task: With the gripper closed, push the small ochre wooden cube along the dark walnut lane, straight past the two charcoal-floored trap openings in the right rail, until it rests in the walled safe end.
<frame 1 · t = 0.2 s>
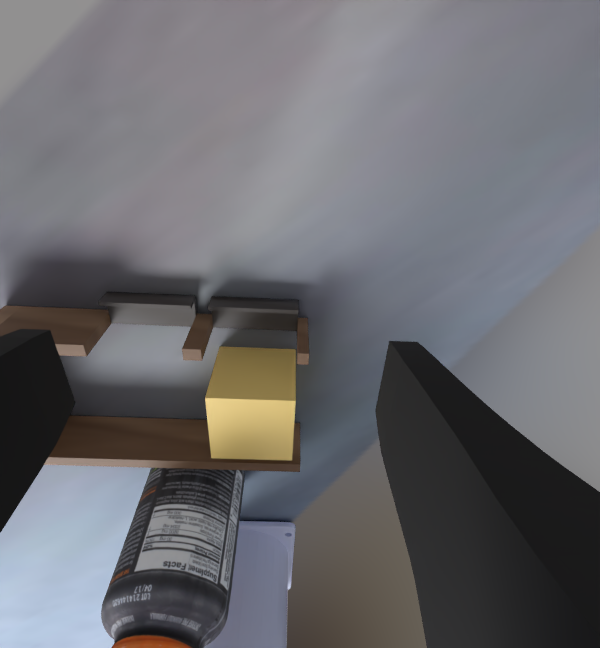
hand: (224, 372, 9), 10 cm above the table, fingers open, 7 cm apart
ochre block: (258, 376, 22), on the table
pill bottle: (201, 465, 26), on the table
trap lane: (168, 374, 22), on the table
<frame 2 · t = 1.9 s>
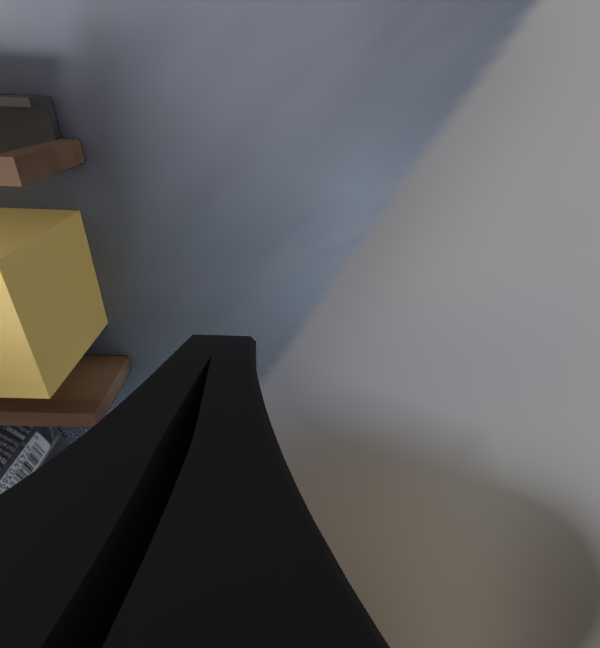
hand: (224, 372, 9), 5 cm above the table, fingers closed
ochre block: (34, 268, 13), on the table
pill bottle: (2, 432, 17), on the table
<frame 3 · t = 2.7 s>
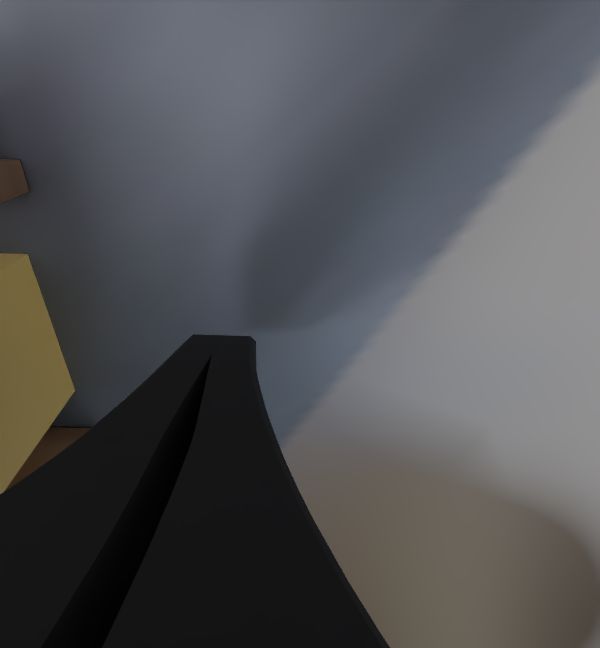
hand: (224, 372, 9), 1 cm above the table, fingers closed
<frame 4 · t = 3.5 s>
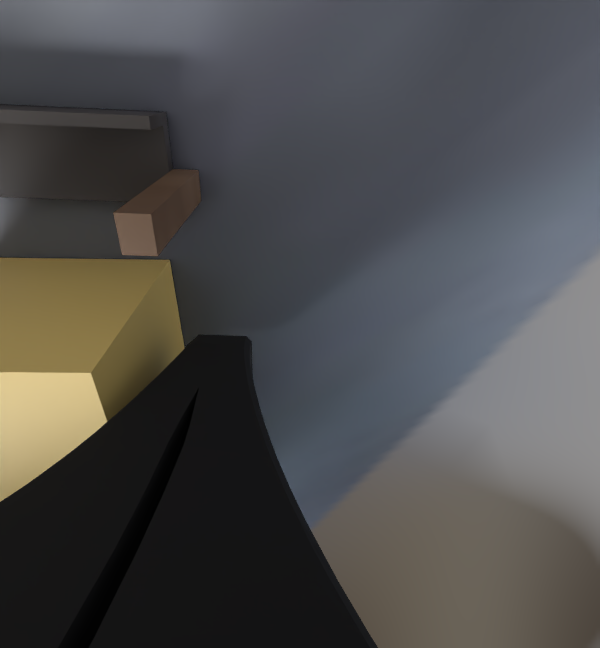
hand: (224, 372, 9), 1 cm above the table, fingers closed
ochre block: (102, 333, 10), on the table, touching gripper
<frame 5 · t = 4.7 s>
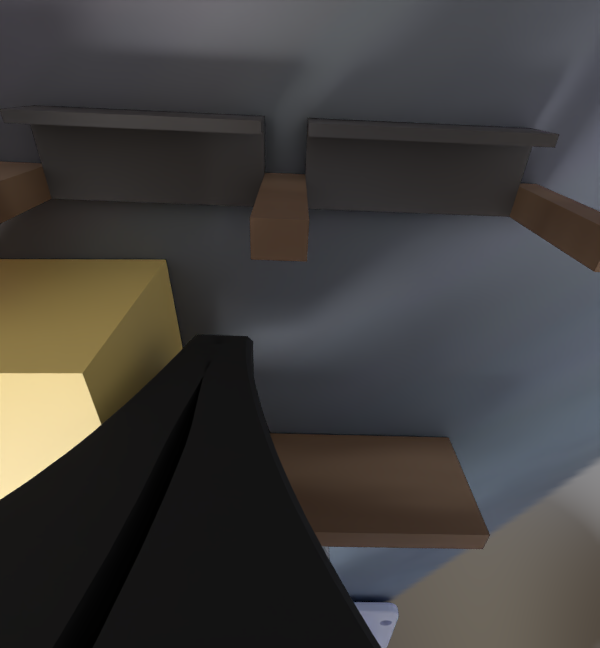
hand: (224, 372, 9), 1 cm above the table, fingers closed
ochre block: (99, 334, 10), on the table, touching gripper
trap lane: (190, 336, 10), on the table
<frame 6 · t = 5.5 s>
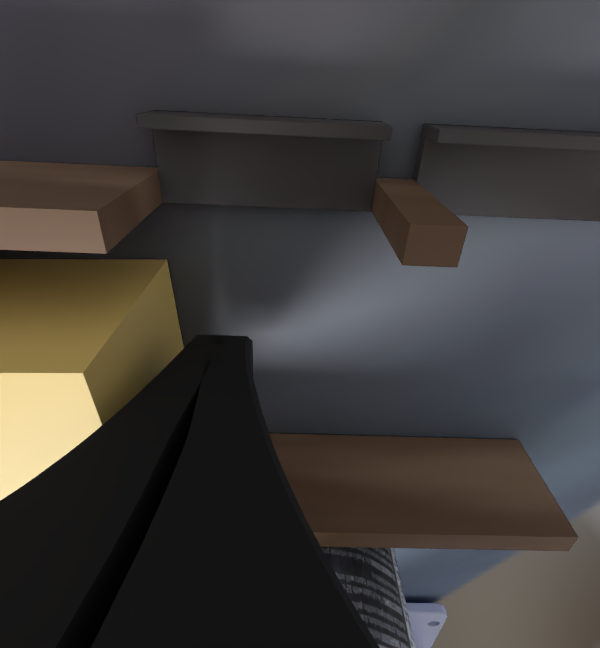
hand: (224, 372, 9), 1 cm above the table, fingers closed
ochre block: (101, 333, 10), on the table, touching gripper
pill bottle: (304, 515, 14), on the table
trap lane: (276, 339, 10), on the table
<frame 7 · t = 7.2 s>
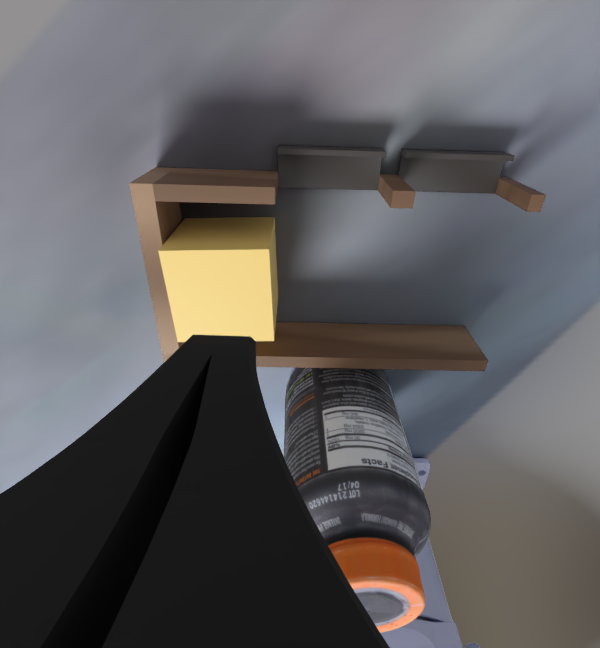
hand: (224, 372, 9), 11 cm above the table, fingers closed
ochre block: (234, 259, 19), on the table
pill bottle: (336, 387, 23), on the table
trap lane: (327, 261, 19), on the table
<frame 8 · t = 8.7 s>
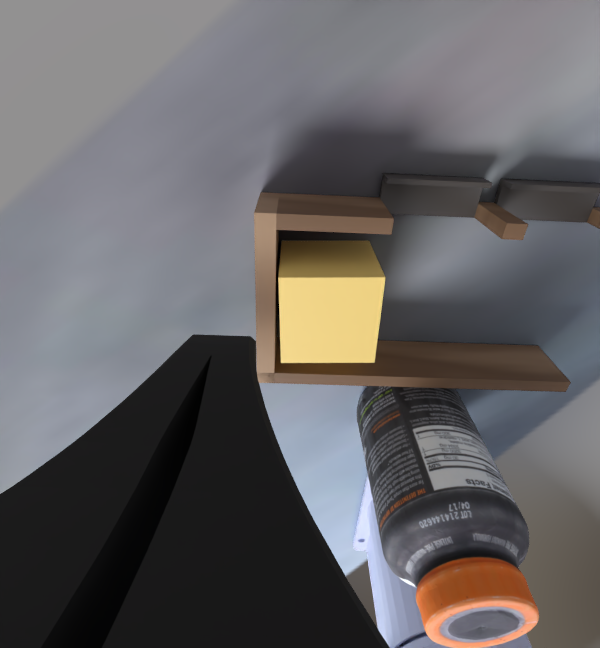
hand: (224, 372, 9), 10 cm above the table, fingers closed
ochre block: (323, 279, 19), on the table
pill bottle: (405, 401, 24), on the table
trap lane: (413, 283, 19), on the table
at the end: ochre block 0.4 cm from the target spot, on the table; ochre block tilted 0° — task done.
